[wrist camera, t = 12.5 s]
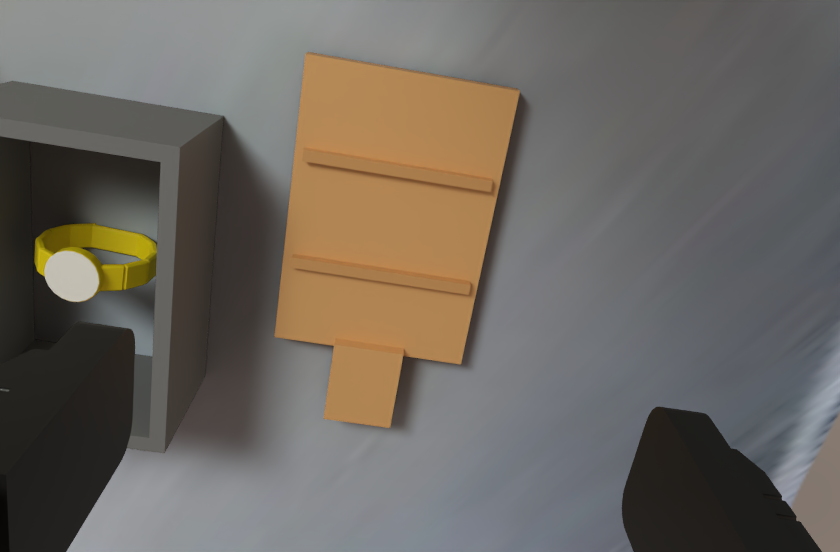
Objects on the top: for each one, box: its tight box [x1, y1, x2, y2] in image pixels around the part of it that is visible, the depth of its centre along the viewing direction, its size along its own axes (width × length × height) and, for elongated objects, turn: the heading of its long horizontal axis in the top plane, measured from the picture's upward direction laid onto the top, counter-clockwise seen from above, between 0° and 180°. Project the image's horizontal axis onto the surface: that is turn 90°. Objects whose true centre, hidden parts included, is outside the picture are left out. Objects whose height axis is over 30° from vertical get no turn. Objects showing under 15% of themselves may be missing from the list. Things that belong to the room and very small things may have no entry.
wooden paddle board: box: [274, 52, 520, 428], centre depth 42 cm, size 20×11×3 cm, turn 170°
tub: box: [0, 81, 224, 453], centre depth 38 cm, size 16×11×8 cm
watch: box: [34, 223, 157, 302], centre depth 39 cm, size 6×3×6 cm, turn 77°
